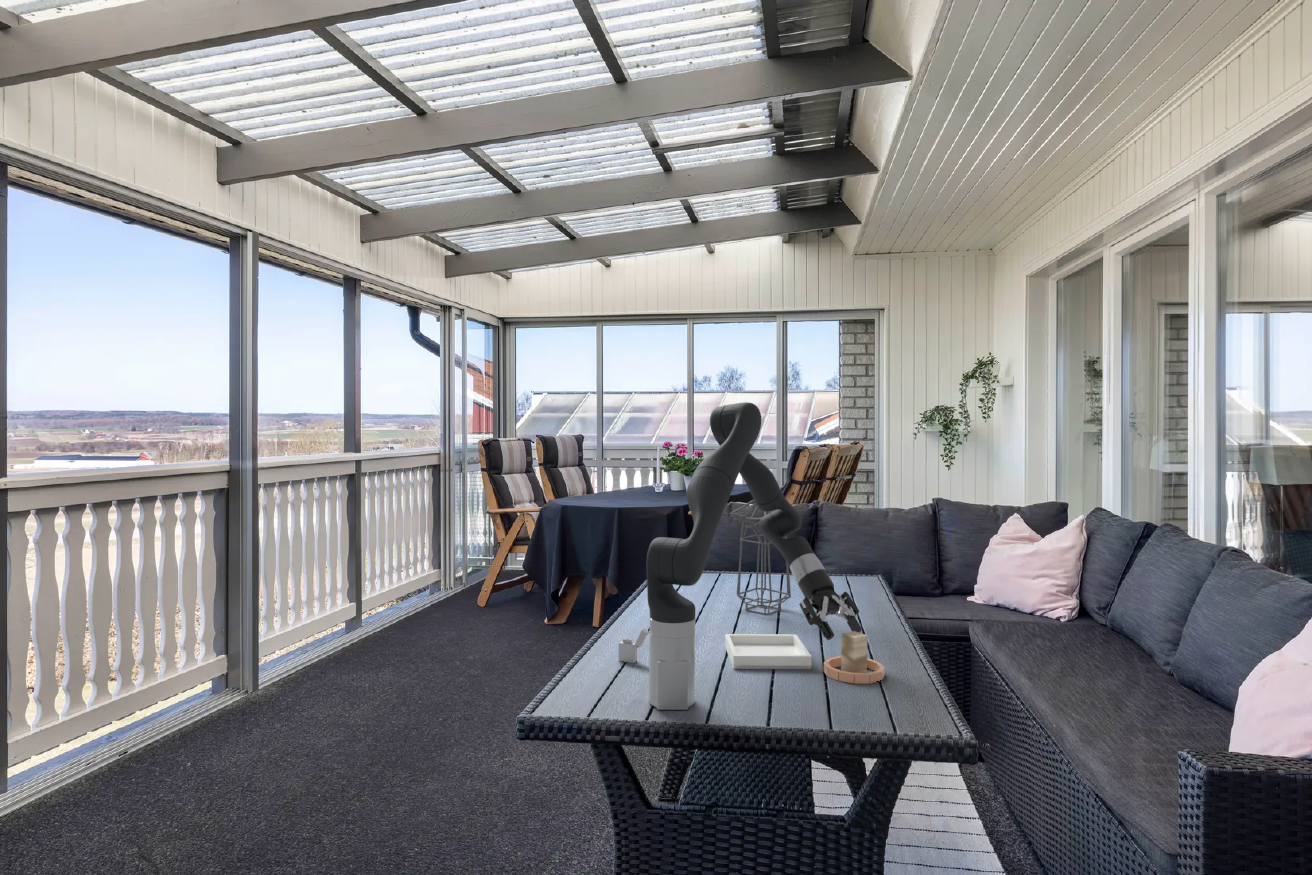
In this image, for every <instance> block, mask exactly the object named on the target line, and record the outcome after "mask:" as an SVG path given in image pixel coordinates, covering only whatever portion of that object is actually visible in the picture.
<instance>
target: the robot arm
mask: <svg viewBox="0 0 1312 875" xmlns="http://www.w3.org/2000/svg"><path fill="white" fill-rule="evenodd" d="M709 426H710V431H711V433H712V435H713V438H714V439H715V441H716V442H717V444H718V445H719V446H718V447H717V448H716V449H715V450H713V451H712V452H710V454H709V455H707V456H706V457H705V458H704V459H703V460H702V461H701V462H700V463H699V464H698V465H697V466H696V468H695V470H694V471H693V474H692V476H691V478H690V481H689V483H688V486H687V488H686V502H687V504H688V509H689V511H690V513H691V516H692V520H693V527H692V531H691V533H690V535H689V537H687V538H677V537H667V536H665V537H664V536H663V537H662V536H661V537H660V536H658V537H656V538H654V539H653V540H651V543H650V544H649V547H648V549H647V554H646V588H647V589H646V591H647V603H648V609H649V646H648V647H649V648H648V650H649V653H648V655H649V656H648V659H649V660H648V661H649V662H648V665H649V667H648V702H649V704H650V705H651V706H652V707H655V708H656V710H661V711H662V710H663V711H664V710H665V711H667V710H668V711H669V710H671V711H673V710H674V711H677V710H679V711H681V710H683V711H687V710H689V708H690V707H692V706H693V705H694V704H695V685H696V684H695V681H696V680H695V673H696V670H695V669H696V668H695V666H696V665H695V663H696V605H695V603H694V602H693V601H691V600H690V599H688V598H686V597H685V596H684V595H682V594H680V593H679V592H678V591H677V590H676V589H675V587H674V585H676V586H682V587H687V586H688V587H689V586H694V585H696V584H697V583H698V582H699V580H700V579H701V577H702V575H703V573H704V570H705V567H706V564H707V561H708V556H709V554H710V551H711V546H712V543H713V540H714V537H715V534H716V531H717V529H718V528H717V527H718V525H719V523H720V520H721V518H722V515H723V513H724V510H725V509H726V506H727V504H728V502H729V499H730V497H731V495H732V493H733V492H732V491H733V490H734V487H735V484H736V481H737V478H738V475H740V476H741V477H742V479H743V481H744V482H745V484H746V486H747V488H748V490H749V493H750V494H751V497H752V500H754V501H755V502H754V503H756V505H757V507H758V508H759V509H758V510H760V511H761V512H764V511H767V512H768V513H769V511H773V510H775V511H773V512H770V513H769V514H766V515H765V514H764V515H763V516H762V517H760V518H761V519H760V520H759V521H760V522H759V521H758V522H759V524H758V525H759V527H758V528H759V529H760V530H759V531H760V532H761V534H763V535H764V536H763V537H764V538H765V537H766V540H767V541H768V542H769V541H770V543H772V545H773V546H774V548H776V549H777V551H779V552H780V554H781V555H782V557H783V559H784V560H785V563H786V562H787V564H788V566H789V570H790V571H791V572H790V573H791V574H792V577H793V578H794V581H795V582H796V583H797V584H796V585H797V586H798V587H799V589H800V592H801V593H802V594H803V597H804V598H803V599H802V600H801V601H800V603H799V608H800V609H801V611H802V614H804V617H805V619H806V621H807V623H808V624H809V625H810V626H813V625H815V626H816V627H818V628H819V630H820V632H821V633H822V636H823V637H824V638H825V639H826V640H827V641H830V640H832V639H833V638H834V637H835V633H834V631H833V630H832V627H831V626H830V624H829V623H828V621H827V620H826V616H827V617H828V615H829V616H830V615H831V616H833V615H836V616H837V617H839V618H842V619H843V620H845V621H846V623H847V625H848V627H849V629H850V630H851V632H853V631H855V632H859V633H862V626H861V625H860V624H859V621H858V620H857V618H856V616H857V615H858V614H859V613H860V610H859V609H858V608H859V607H857V605H856V603H855V602H854V600H853V599H852V597H851V595H850V594H849V593H848V592H847V591H843V592H842V593H840V594H838V593H837V592H836V591H835V585H834V582H833V580H832V578H831V577H830V576H829V574H828V572H827V571H826V568H824V565H823V564H822V562H821V560H820V559H819V558H818V557H817V555H816V554H815V552H814V551H813V549H812V547H811V546H810V545H811V544H810V543H809V541H808V540H807V539H806V538H805V537H804V536H794V537H788V535H791V534H793V533H795V532H797V531H799V530H800V528H801V527H802V524H803V523H802V522H803V519H802V516H801V513H799V511H798V510H797V509H796V508H795V507H794V506H793V505H792V504H791V503H790V501H788V499H787V498H786V497H785V495H784V494H783V492H782V490H781V488H780V485H779V483H778V481H777V479H776V477H775V475H774V474H773V473H772V471H771V469H770V468H768V467H767V465H765V464H764V463H762V461H760V460H759V459H758V458H756V457H755V456H754V455H753V454H752V453H750V452H751V450H752V448H753V446H754V445H755V443H756V442H757V439H758V437H759V436H760V432H761V429H762V414H761V410H760V409H759V407H758V406H757V405H756V404H754V403H753V402H747V401H746V402H737V403H731V404H725V405H720V406H717V407H715V408H713V410H712V411H711V413H710V417H709ZM785 536H787V537H788V539H785ZM782 537H784V538H782Z"/></svg>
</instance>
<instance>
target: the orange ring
mask: <svg viewBox="0 0 1312 875" xmlns="http://www.w3.org/2000/svg"><path fill="white" fill-rule="evenodd" d="M838 667H841V655H839V656H833V657H828V658H826V659H825V660H824V662H823V672H824V674H825V675H826V677H829V678H831V679H833V680H836V681H839V682H843V683H849V684H857V685H859V684H863V685H864V684H873V682H874V683H877V682H876V681H879V682H881V681H880V680H883V679H884V678H885V677H884V676H886V672H885V670H886V667H885V666H884V665H883V664H882V663H881V662H880V661H877V660H874V659H871V658H868V657H867V668H869V669H868V670H870V669H871V671H870V672H867V673H852V672H846V671H841V669H837V668H838ZM873 670H874V671H873Z"/></svg>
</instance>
